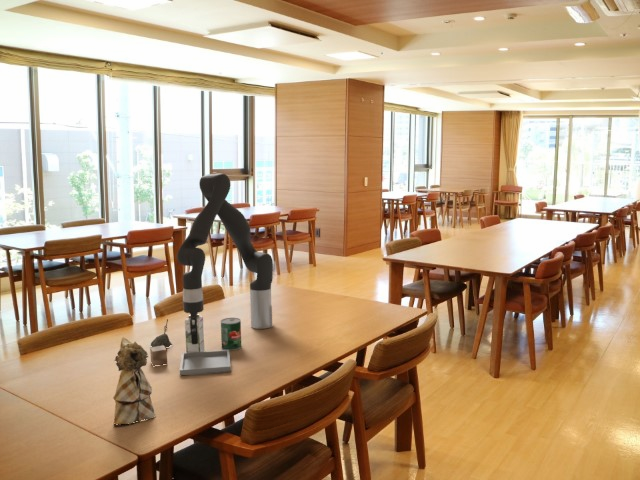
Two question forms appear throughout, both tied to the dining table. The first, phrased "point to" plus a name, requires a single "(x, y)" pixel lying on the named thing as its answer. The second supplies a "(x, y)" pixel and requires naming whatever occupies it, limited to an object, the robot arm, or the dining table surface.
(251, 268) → the robot arm
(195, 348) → the syrup box
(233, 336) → the canned tomato
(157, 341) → the sword in stone
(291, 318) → the dining table surface
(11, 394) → the dining table surface
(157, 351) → the walnut block
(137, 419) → the plush toy
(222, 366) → the slate tray
